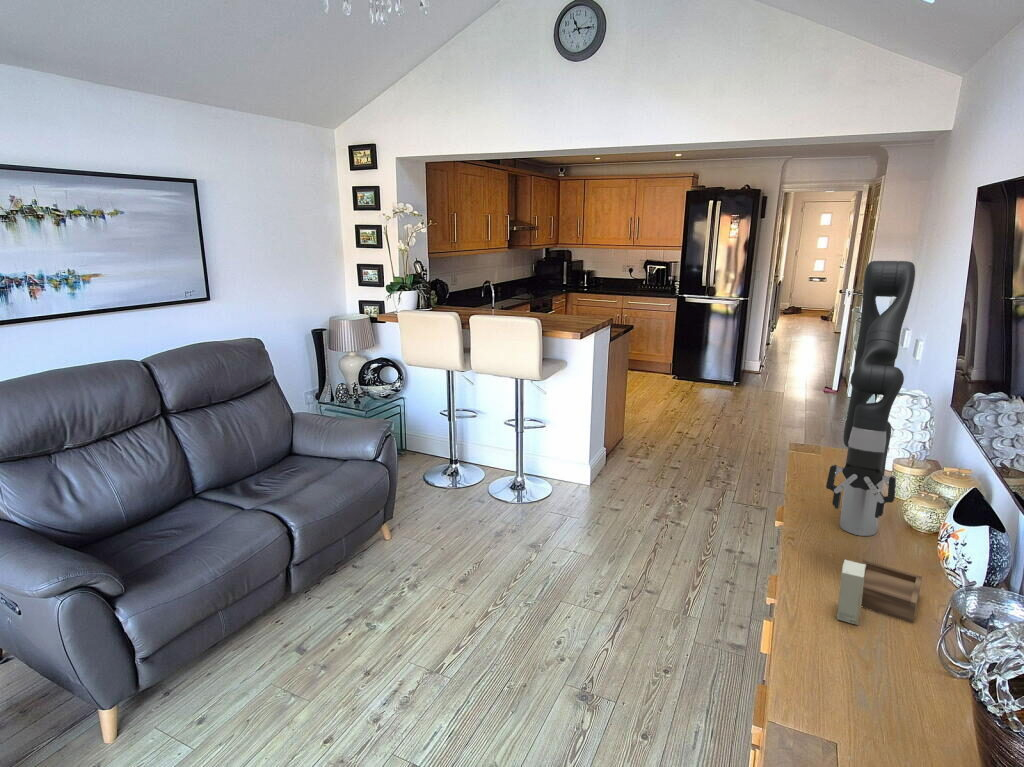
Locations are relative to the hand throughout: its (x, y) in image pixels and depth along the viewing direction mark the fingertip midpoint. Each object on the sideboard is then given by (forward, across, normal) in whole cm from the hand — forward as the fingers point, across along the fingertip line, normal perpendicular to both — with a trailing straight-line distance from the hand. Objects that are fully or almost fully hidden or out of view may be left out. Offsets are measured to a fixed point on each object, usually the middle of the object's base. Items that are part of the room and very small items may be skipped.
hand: (856, 512), depth 143 cm
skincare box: (+21, -3, +12) cm, 25 cm away
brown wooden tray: (+19, -9, +2) cm, 21 cm away
